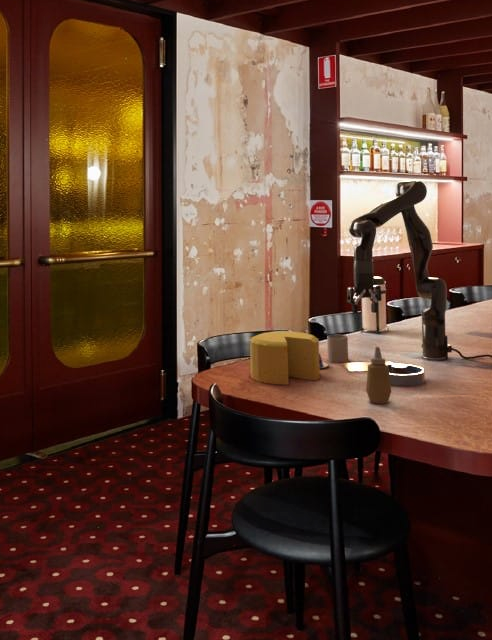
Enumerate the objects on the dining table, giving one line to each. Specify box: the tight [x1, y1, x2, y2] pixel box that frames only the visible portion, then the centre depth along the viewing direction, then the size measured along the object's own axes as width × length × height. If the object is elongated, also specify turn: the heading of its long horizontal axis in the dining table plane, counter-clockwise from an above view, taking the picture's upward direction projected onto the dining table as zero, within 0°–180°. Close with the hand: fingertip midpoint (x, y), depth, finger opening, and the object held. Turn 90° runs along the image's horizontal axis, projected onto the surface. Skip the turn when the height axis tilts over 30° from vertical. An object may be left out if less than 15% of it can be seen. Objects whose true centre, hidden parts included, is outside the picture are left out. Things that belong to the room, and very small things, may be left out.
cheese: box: [249, 331, 320, 385], centre depth 275 cm, size 26×26×15 cm
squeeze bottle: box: [365, 346, 392, 405], centre depth 237 cm, size 8×8×18 cm
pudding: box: [319, 353, 329, 370], centre depth 289 cm, size 12×12×5 cm
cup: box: [326, 334, 349, 364], centre depth 299 cm, size 8×8×10 cm
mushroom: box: [392, 363, 407, 375], centre depth 262 cm, size 5×5×5 cm
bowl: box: [386, 363, 426, 387], centre depth 262 cm, size 17×17×5 cm
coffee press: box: [358, 272, 390, 335], centre depth 364 cm, size 17×16×30 cm
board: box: [342, 361, 395, 373], centre depth 283 cm, size 20×14×1 cm
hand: (364, 313), depth 278 cm, fingers open, 8 cm apart
